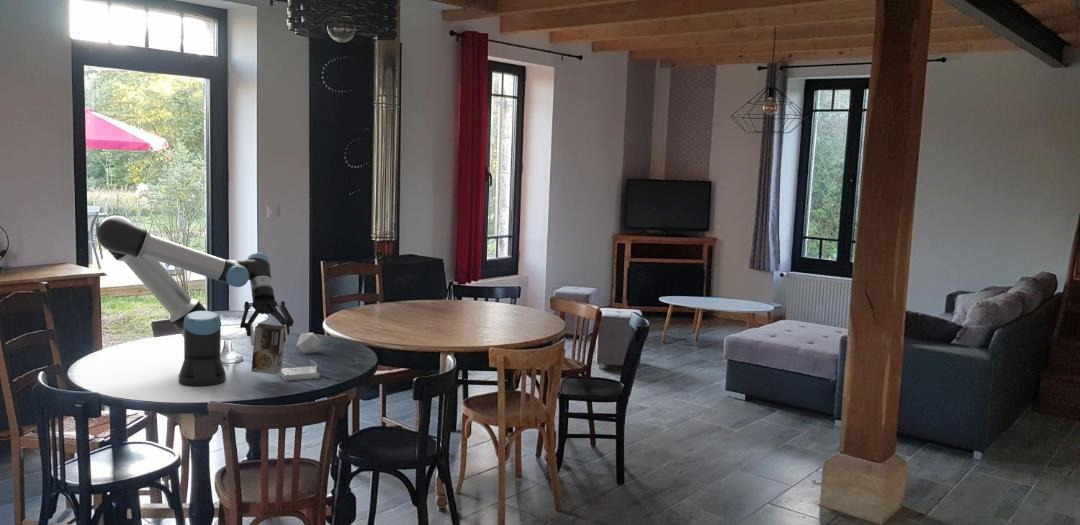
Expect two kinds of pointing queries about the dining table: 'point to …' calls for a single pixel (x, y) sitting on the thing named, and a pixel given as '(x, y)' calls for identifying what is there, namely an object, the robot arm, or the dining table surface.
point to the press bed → (300, 372)
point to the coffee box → (268, 348)
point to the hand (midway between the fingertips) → (269, 342)
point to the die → (308, 343)
